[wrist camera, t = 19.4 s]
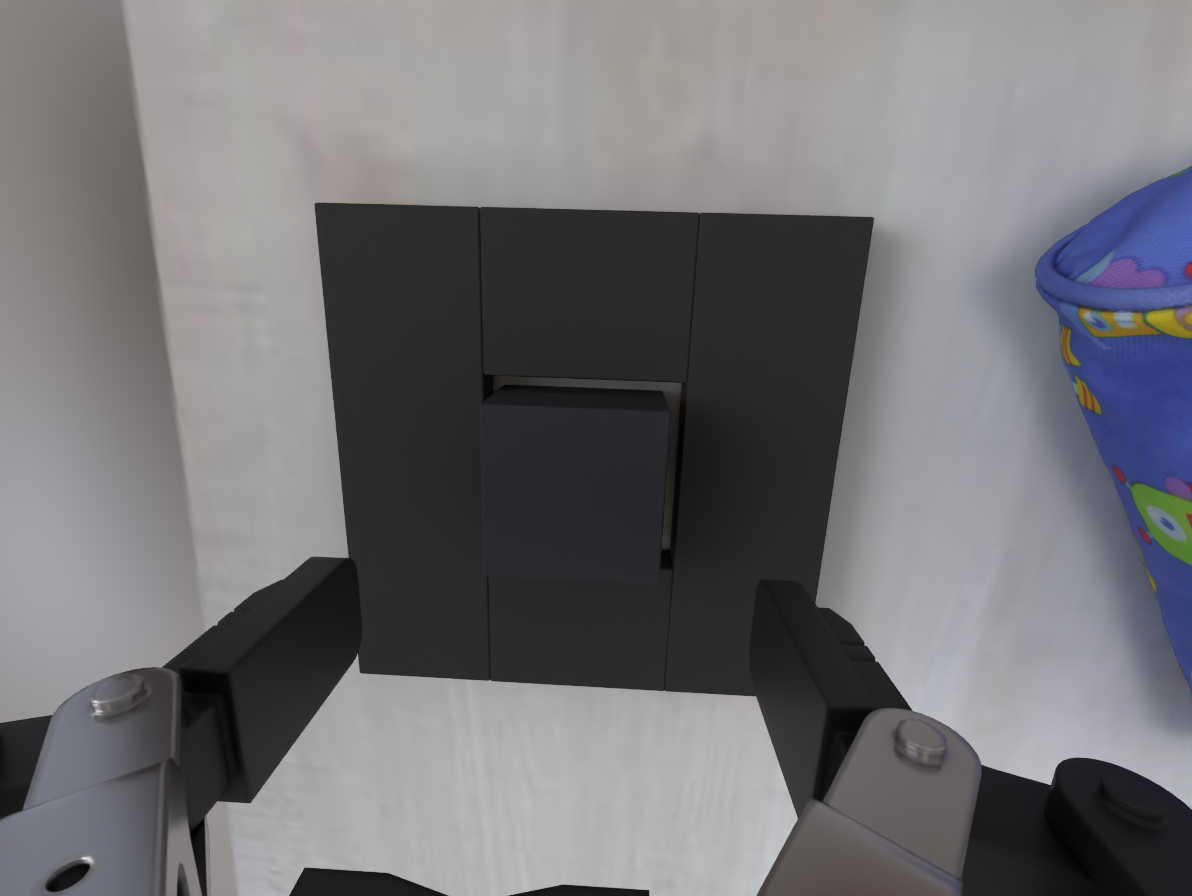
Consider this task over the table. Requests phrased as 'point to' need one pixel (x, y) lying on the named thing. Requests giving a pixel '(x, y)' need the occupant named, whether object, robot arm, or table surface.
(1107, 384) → the pencil case
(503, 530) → the plug pad
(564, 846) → the table surface
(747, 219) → the socket pad
